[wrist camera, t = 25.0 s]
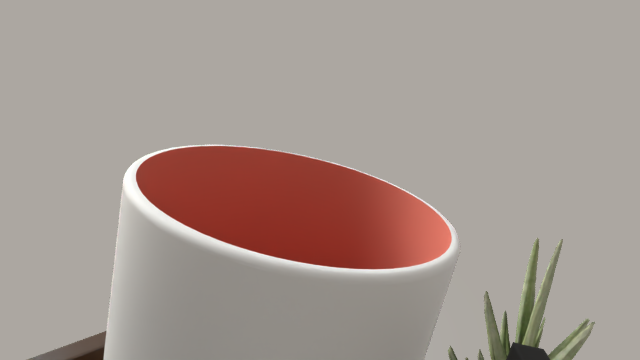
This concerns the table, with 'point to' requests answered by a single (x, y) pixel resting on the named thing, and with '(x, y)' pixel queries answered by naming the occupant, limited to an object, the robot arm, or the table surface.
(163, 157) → the cup
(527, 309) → the potted plant
